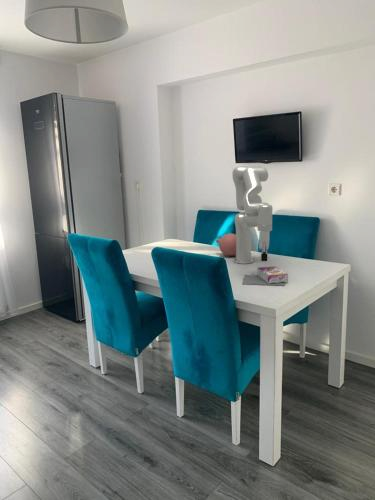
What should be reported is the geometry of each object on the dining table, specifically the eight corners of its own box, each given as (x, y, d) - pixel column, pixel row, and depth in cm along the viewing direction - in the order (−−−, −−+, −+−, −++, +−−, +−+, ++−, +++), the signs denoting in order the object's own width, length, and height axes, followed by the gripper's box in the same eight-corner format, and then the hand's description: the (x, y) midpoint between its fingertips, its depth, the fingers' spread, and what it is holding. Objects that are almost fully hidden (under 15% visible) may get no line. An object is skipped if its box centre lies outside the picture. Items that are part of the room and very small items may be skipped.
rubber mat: (244, 275, 230) (244, 274, 230) (284, 276, 225) (284, 276, 225) (242, 284, 213) (242, 283, 213) (284, 286, 209) (284, 285, 209)
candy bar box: (275, 265, 228) (288, 273, 212) (275, 274, 229) (287, 282, 214) (256, 267, 226) (268, 275, 210) (256, 275, 227) (268, 284, 211)
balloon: (223, 251, 290) (223, 230, 287) (246, 255, 276) (246, 233, 273) (209, 255, 280) (209, 233, 276) (232, 259, 266) (232, 236, 262)
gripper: (258, 225, 225) (257, 257, 229) (257, 229, 210) (256, 264, 215) (272, 225, 223) (271, 257, 227) (271, 230, 209) (271, 264, 213)
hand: (264, 260), depth 221 cm, fingers closed
